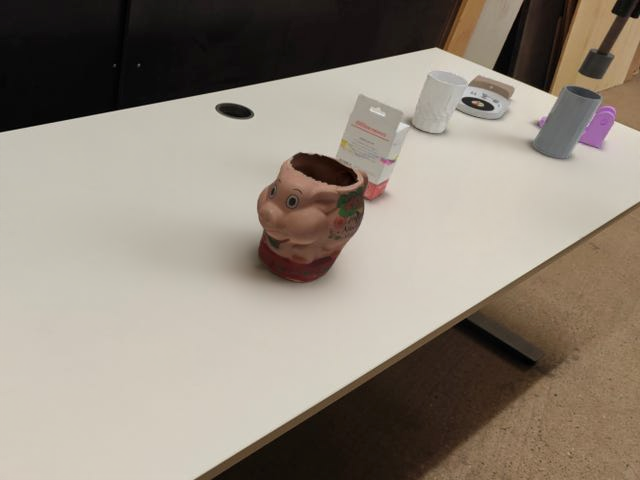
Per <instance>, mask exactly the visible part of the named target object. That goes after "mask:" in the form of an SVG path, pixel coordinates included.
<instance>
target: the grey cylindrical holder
mask: <svg viewBox="0 0 640 480" xmlns="http://www.w3.org/2000/svg"><path fill="white" fill-rule="evenodd" d="M603 100H604V96H602V94H600V93H598V92H597V91H595V90H592V89H590V88H587V87H585V86H580V85H575V84H565V85H563V87H562V89H561V90H560V92H559V94H558V96H557V98H556V100H555V101H554V103H553V105H552V107H551V109H550V110H549V113H548V114H547V115H546V116H547V118H546V120H545V122H544V123H543V125H542V127H540V129H539V130H538V133H537V134H536V136H535V138H534V140H533V142H532V148H533V149H534V150H536V151H537V152H539V153H541V154H542V155H545V156H547V157H550V158H555V159H559V160H561V159H563V160H566V159H568V158H569V157H570V156H571V154H572V153H573V151H574V149H575V148H576V146H577V144H578V143H579V139H580V138H581V136H582V134H583V133H584V131H585V129H586V128H587V127H588V125H589V124H590V122H591V120H592V119H593V117H594V115H595V114H596V112H597V110H598V109H599V107H600V106H601V104H602V103H603Z"/></svg>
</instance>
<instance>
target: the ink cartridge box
mask: <svg viewBox="0 0 640 480" xmlns="http://www.w3.org/2000/svg"><path fill="white" fill-rule="evenodd" d="M372 108H373V109H372ZM378 108H379V109H380V111H381V112H383V113H381V112H378V111H376V110H374V109H378ZM384 113H385V114H384ZM403 117H404V111H403V110H400V109H398V108H395V107H394V106H391V105H389V104H386V103H384V102H382V101H380V100H378V99H375V98H372V97H370V96H367V95H365V94H364V93H359V94H358V95H357V98H356V101H355V104H354V105H353V108H352V111H351V112H350V114H349V116H348V120H347V122H346V126H345V130H344V132H343V135H342V138H341V140H340V144H339V147H338V149H337V152H336V156H335V158H336V159H338V160H340V161H342V162H343V163H345V164H347V165H349V166H351V167H352V168H354V169H356V170H362V171H364V172H365V173H366V174H367V176H368V185H367V188H366V191H365V193H364V195H363V196H364V199H365V198H366V199H367V200H370V201H371V200H373V199H375V198H376V197H378V196H380V195H382V194H384V193H385V190H386V188H387V185H388V183H389V180H390V178H391V175H392V173H393V170H394V168H395V165H396V163H397V160H398V158H399V155H400V153H401V150H402V148H403V146H404V143H405V140H406V137H407V135H408V132H409V130H410V127H411V126H410V125H409V124H406V123H405V122H402V119H403Z"/></svg>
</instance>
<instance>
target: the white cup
mask: <svg viewBox="0 0 640 480" xmlns="http://www.w3.org/2000/svg"><path fill="white" fill-rule="evenodd" d="M468 85H469V81H468V80H467V78H464V77H463V76H461V75H460V74H456V73H453V72H452V71H446V70H442V69H431V70H428V72H427V75H426V78H425V80H424V83H423V85H422V88H421V91H420V93H419V97H418V100H417V103H416V106H415V110H414V112H413V116H412V117H411V124H412V126H414V127H415V128H416V129H418V130H421V131H423V132H426V133H431V134H442V133H443V132H444V131H445V129H446V127H447V125H448V123H449V121H450V120H451V119H452V117H453V115H454V113H455V111H456V109H457V108H456V107H457V105H458V103H459V101H460V99H461V97H462V95H463V93H464V91H465V89H466V87H467V86H468Z"/></svg>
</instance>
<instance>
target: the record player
mask: <svg viewBox="0 0 640 480" xmlns="http://www.w3.org/2000/svg"><path fill="white" fill-rule="evenodd" d="M515 91H516V86H515V85H513V84H510V83H508V82H504V81H502V80H498V79H496V78H492V77H490V76H486V75H484V74H478V75H476V76H475V77H474V78H473V79H472V80H471V81H469V82H468V85H467V87H466V89H465V91H464V93H463V95H462V97H461V99H460V101H459V103H458V105H457V107H456V109H457V110H458V111H460V112H462V113H465V114H467V115H470V116H473V117H477V118H481V119H488V120H497V119H500V118H501V117H502V116H504V114H505V113H506V112H507V110H508V109H509V106H510V101H509V100H510V99H511V98H512V97H513V95H514V94H515Z"/></svg>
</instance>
